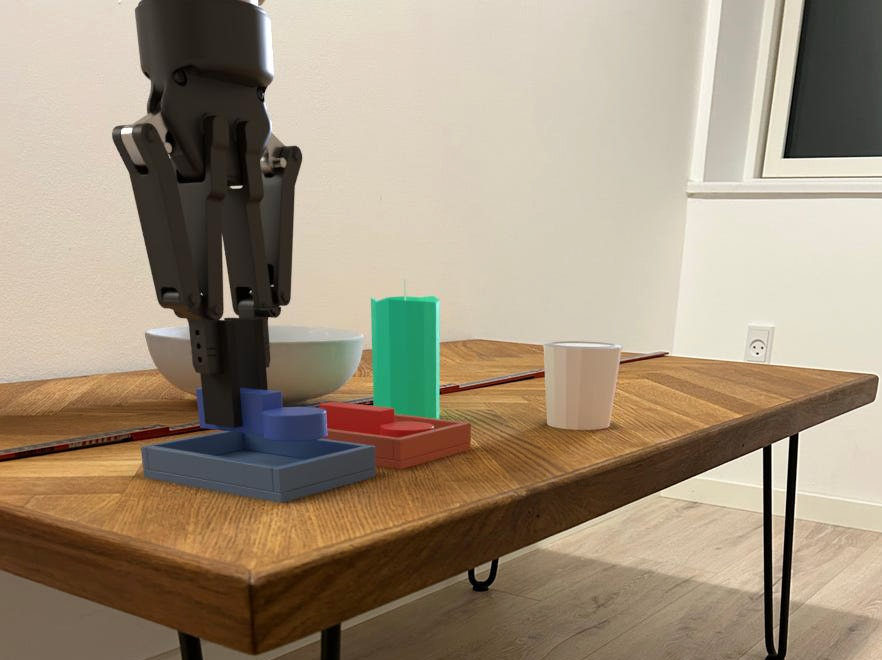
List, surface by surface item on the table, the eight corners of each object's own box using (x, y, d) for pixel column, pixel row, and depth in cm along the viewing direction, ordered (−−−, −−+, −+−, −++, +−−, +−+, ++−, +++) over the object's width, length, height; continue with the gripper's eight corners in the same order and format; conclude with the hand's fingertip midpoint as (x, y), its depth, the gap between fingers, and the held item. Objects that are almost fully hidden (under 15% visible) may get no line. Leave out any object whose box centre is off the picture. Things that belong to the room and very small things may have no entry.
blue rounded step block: (186, 430, 62) (182, 390, 62) (231, 422, 66) (227, 384, 65) (298, 443, 58) (295, 400, 57) (340, 434, 61) (338, 393, 60)
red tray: (271, 450, 72) (269, 422, 71) (348, 433, 79) (347, 408, 78) (400, 469, 66) (400, 439, 65) (470, 449, 73) (471, 422, 72)
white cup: (599, 434, 81) (604, 348, 78) (527, 426, 84) (530, 344, 81) (627, 423, 86) (633, 343, 84) (559, 416, 89) (563, 339, 87)
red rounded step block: (310, 439, 73) (308, 405, 72) (343, 432, 76) (342, 399, 75) (413, 454, 68) (413, 417, 67) (444, 446, 71) (444, 411, 70)
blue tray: (143, 477, 62) (140, 445, 62) (244, 455, 70) (242, 427, 69) (281, 503, 56) (279, 468, 56) (376, 476, 64) (375, 445, 63)
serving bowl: (266, 426, 82) (260, 343, 79) (106, 405, 92) (97, 330, 89) (406, 399, 98) (405, 330, 96) (258, 384, 108) (254, 321, 106)
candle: (416, 412, 90) (415, 278, 86) (452, 421, 86) (453, 280, 81) (361, 417, 87) (357, 278, 82) (396, 427, 82) (393, 280, 78)
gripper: (141, -39, 46) (191, 444, 55) (337, 23, 58) (352, 414, 67) (46, -19, 50) (106, 432, 59) (248, 36, 61) (274, 405, 70)
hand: (237, 421), depth 63 cm, fingers closed on blue rounded step block, 2 cm apart
